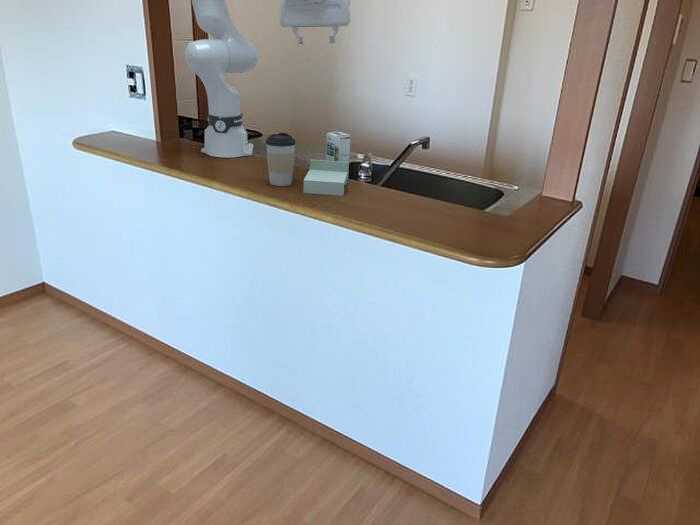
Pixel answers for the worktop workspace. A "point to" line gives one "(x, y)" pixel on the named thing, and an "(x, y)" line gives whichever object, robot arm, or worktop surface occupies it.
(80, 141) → the worktop surface
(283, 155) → the coffee cup
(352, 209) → the worktop surface
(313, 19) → the robot arm
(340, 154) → the syrup box
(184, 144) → the worktop surface
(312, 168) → the shelf
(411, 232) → the worktop surface
